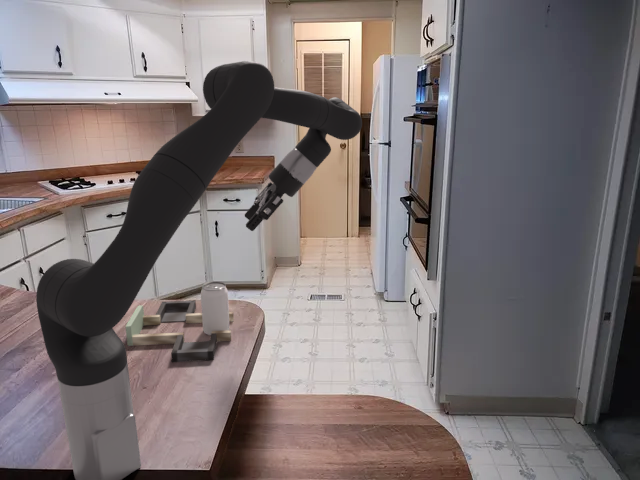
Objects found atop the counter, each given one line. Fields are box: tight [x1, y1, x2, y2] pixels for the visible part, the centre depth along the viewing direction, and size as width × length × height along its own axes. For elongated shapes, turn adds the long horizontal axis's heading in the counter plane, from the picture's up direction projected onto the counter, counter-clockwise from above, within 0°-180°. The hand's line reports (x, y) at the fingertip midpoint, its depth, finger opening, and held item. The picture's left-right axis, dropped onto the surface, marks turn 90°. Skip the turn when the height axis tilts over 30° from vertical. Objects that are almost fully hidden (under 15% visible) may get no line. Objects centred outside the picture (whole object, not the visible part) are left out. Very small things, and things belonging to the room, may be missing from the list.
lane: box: [126, 300, 235, 363], centre depth 112 cm, size 24×28×2 cm
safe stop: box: [125, 304, 145, 347], centre depth 111 cm, size 1×11×5 cm, turn 7°
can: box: [200, 281, 230, 337], centre depth 112 cm, size 6×6×12 cm
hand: (247, 223), depth 108 cm, fingers open, 8 cm apart
